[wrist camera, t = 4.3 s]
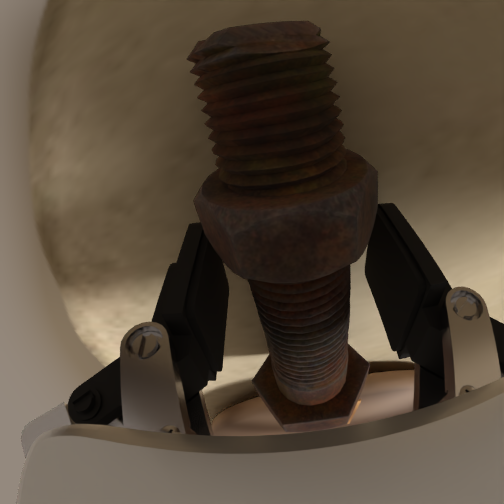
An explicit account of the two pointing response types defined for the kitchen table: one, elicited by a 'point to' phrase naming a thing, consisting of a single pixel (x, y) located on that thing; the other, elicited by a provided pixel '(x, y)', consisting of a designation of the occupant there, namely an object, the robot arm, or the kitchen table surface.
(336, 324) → the bolt
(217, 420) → the turntable
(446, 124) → the kitchen table surface
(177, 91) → the kitchen table surface
